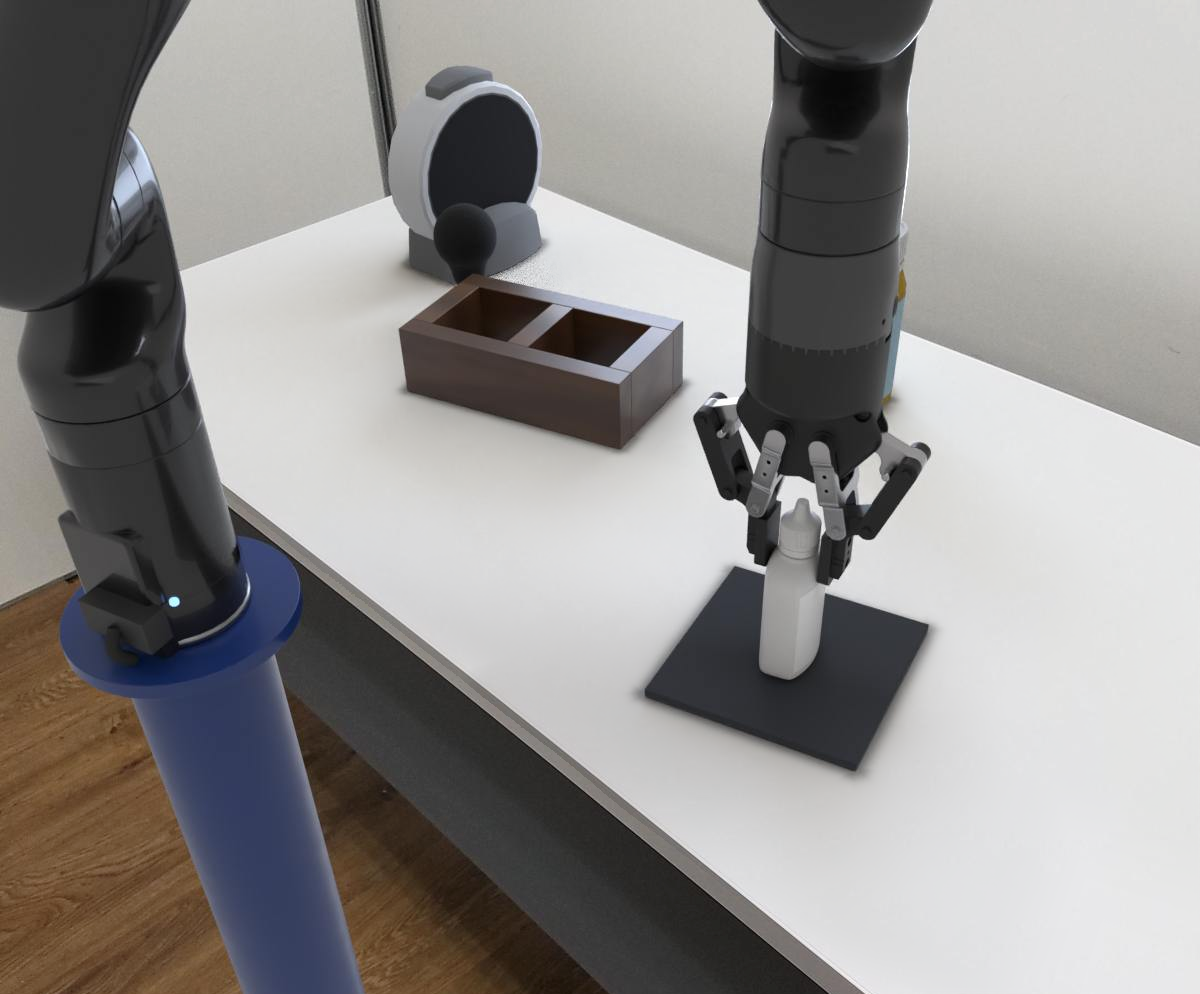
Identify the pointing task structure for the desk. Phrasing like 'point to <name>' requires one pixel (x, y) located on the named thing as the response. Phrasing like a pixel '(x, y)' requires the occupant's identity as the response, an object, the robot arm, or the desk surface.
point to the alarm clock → (467, 165)
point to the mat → (806, 703)
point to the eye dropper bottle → (792, 596)
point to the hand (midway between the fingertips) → (797, 566)
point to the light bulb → (465, 239)
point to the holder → (544, 358)
